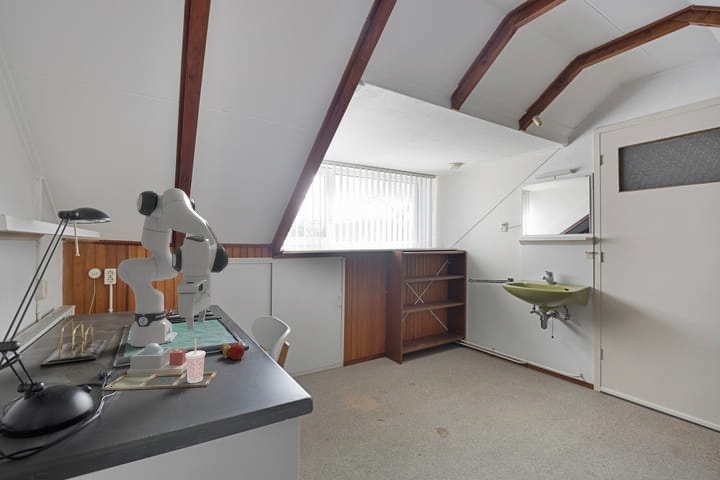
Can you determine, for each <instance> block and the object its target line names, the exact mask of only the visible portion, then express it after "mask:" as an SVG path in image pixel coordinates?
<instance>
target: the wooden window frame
mask: <svg viewBox="0 0 720 480" xmlns="http://www.w3.org/2000/svg"><path fill="white" fill-rule="evenodd" d="M206 375H207V376H208V375H209V378H208V379H207V380H206V381H205V382H204V383H203V382H202V383H182V384H181V383H180V382H182V380H183V379H185V377H187V372H182V373H161V374H131V375H127V374H122V375H121V376H119V377H117V378H116V379H114V380H112V382H110V383H109V384H107V385H106V386H104V387H103V388H104V390H103V391H118V390H121V391H123V390H146V389H148V390H149V389H170V388H171V389H173V388H199V387H204V388H205V387H208V386H209V384H210V383H211V382H212V381H213V379H215V377H216V375H218V371H203V376H206ZM179 376H180V377H179ZM155 377H156V378H157V377H178V378H177V379H176V380H175V381H174V382H173V383H172V384H152V385H151V384H150V385H147V384H149V383H150V382H151V381H152V380H153V379H155ZM111 386H112V387H111Z"/></svg>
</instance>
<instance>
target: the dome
mask: <svg viewBox="0 0 720 480" xmlns="http://www.w3.org/2000/svg"><path fill="white" fill-rule="evenodd" d="M161 347H162V346H161V344H157V343H151V344H149V345H147V346H146V347H144V348H145V349H144V348H143V349H144V351H142V352H141V355H159V354H161V353H162V352H164V349H162V348H161Z"/></svg>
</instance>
